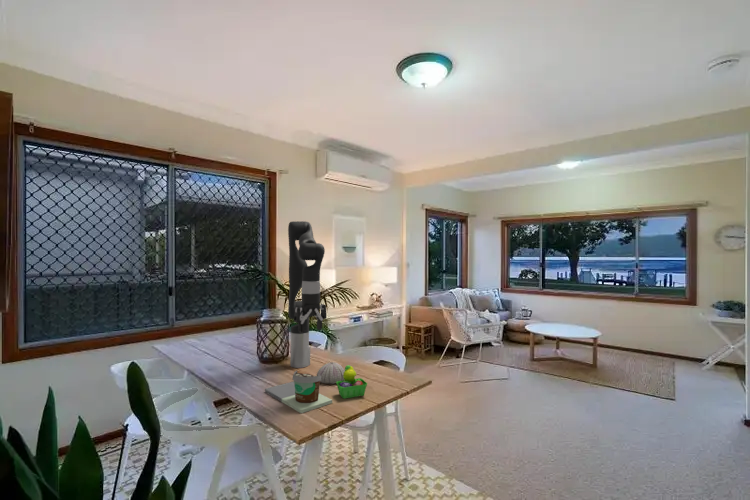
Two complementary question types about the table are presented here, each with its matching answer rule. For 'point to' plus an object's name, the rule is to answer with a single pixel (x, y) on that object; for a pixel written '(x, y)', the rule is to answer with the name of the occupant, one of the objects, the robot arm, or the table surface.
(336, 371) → the sea urchin shell
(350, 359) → the table surface
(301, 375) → the food container
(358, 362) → the table surface
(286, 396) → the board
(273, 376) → the table surface
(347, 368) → the fruit basket
